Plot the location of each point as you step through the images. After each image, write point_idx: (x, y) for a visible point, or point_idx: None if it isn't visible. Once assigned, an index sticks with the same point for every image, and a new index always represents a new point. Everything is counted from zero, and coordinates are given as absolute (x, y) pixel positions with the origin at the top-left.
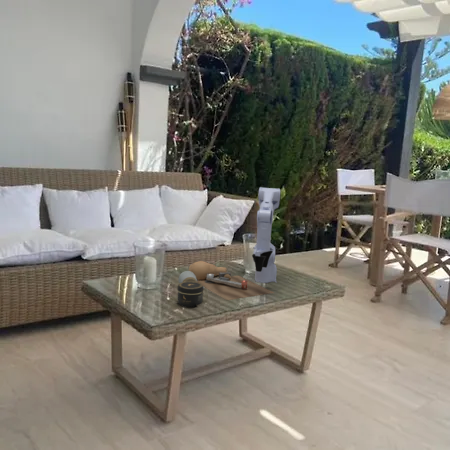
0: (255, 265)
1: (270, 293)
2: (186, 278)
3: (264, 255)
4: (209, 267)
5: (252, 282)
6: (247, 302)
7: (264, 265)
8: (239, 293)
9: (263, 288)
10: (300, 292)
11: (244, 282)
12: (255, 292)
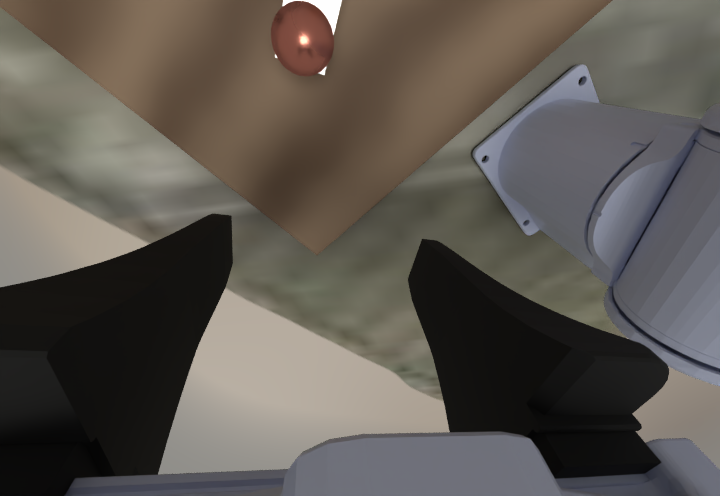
0: (164, 240)
1: (293, 236)
2: None
3: (478, 369)
4: None
5: (497, 91)
6: (72, 114)
7: (418, 277)
8: (169, 17)
9: (375, 186)
10: (399, 332)
11: (273, 45)
12: (266, 148)
